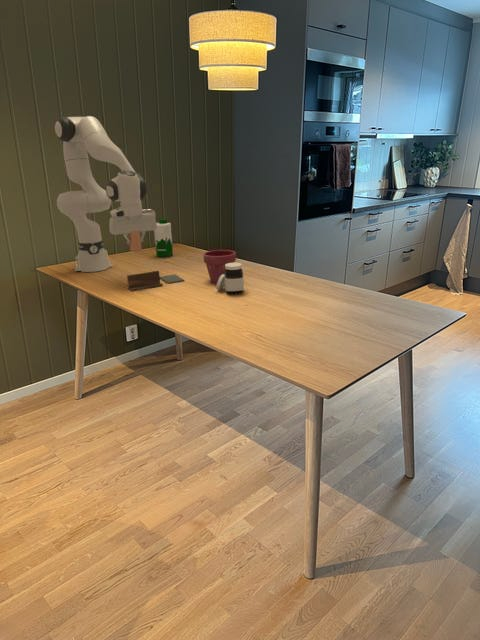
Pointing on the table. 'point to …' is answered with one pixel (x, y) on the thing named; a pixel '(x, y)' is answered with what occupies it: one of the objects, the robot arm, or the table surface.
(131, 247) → the terracotta block
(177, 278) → the charcoal mat
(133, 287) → the brown wooden stand
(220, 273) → the plant pot
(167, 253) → the milk carton
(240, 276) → the spread jar
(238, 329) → the table surface
